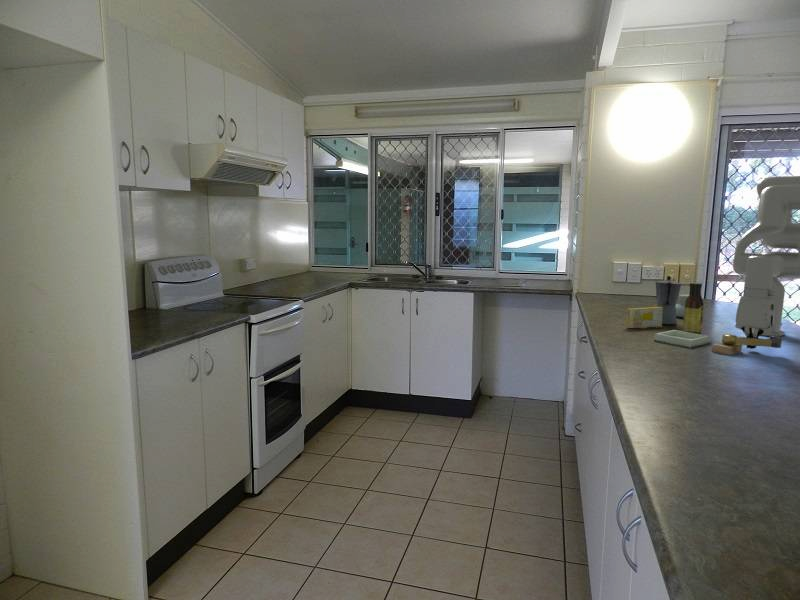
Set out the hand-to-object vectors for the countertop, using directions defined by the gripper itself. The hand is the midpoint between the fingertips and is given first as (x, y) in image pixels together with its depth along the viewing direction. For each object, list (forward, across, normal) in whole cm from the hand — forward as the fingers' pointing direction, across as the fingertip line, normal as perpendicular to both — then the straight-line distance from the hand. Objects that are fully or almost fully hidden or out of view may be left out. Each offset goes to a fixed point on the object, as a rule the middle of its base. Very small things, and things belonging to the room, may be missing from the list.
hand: (751, 347), depth 180 cm
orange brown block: (+1, +4, +8) cm, 9 cm away
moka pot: (+2, +43, -22) cm, 48 cm away
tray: (+1, +20, +6) cm, 21 cm away
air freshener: (+2, +47, -45) cm, 65 cm away
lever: (-2, -1, +3) cm, 4 cm away
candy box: (+2, +42, -6) cm, 43 cm away
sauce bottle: (+2, +24, -9) cm, 26 cm away
